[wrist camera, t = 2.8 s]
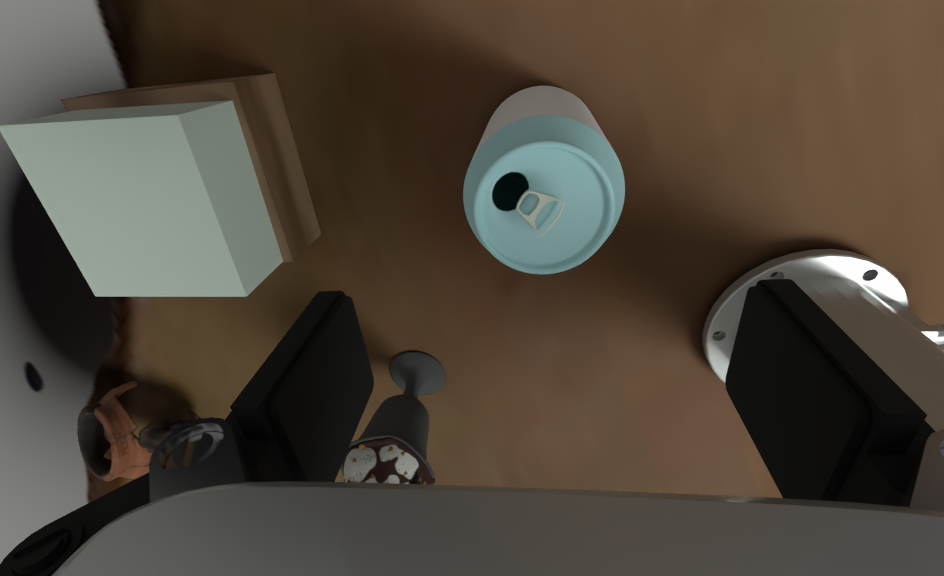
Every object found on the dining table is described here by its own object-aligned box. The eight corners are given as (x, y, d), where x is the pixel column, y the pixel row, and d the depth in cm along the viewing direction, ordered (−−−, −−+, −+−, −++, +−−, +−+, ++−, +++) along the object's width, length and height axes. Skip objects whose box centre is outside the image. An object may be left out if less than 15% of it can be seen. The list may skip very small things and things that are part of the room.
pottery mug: (175, 454, 50) (85, 493, 43) (154, 372, 50) (61, 398, 43) (240, 453, 45) (149, 498, 37) (217, 361, 44) (121, 388, 37)
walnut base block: (277, 72, 29) (233, 81, 24) (323, 231, 34) (293, 261, 30) (127, 88, 30) (60, 99, 26) (193, 237, 36) (147, 267, 32)
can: (491, 202, 31) (470, 292, 21) (477, 93, 28) (443, 136, 17) (597, 192, 30) (630, 282, 20) (596, 76, 26) (635, 111, 16)
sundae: (365, 358, 40) (285, 519, 27) (429, 332, 37) (374, 496, 24) (406, 408, 42) (350, 578, 29) (468, 388, 40) (437, 561, 27)
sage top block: (232, 100, 25) (177, 115, 21) (283, 261, 30) (246, 296, 26) (75, 110, 26) (-3, 125, 22) (149, 262, 31) (95, 296, 28)
